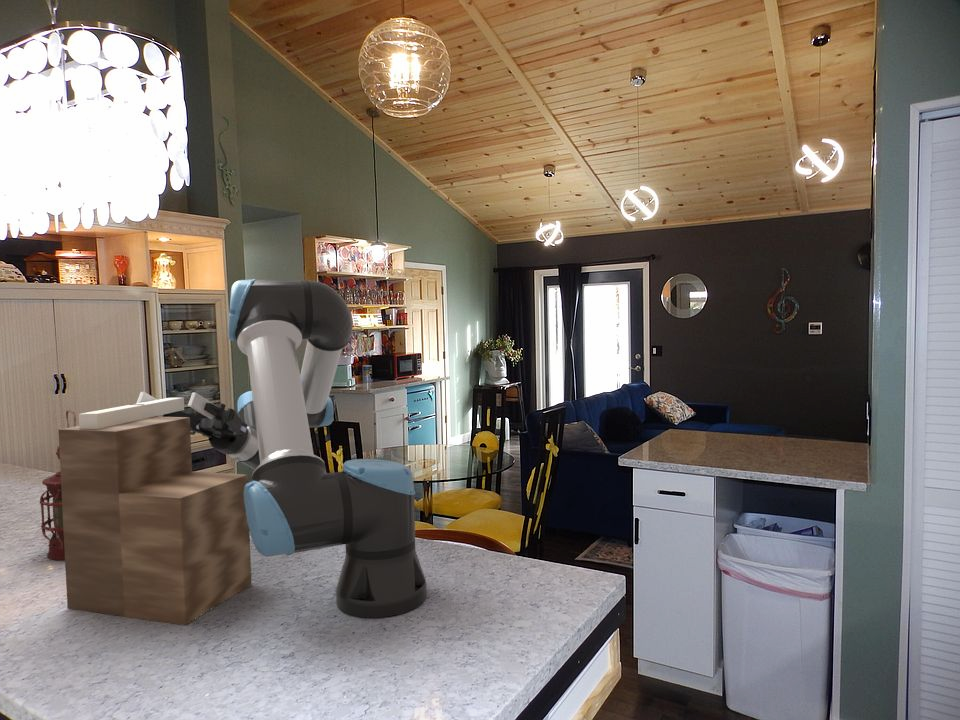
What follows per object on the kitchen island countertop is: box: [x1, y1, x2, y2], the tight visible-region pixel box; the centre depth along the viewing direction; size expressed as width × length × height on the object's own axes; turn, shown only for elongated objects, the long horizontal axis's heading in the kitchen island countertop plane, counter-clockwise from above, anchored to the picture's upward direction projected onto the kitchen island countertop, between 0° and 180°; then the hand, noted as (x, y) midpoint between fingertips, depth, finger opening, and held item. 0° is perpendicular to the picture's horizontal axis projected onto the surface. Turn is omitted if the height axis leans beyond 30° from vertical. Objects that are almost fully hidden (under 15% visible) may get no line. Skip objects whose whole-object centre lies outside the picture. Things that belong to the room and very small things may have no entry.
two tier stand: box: [57, 417, 252, 626], centre depth 107 cm, size 16×24×30 cm, turn 73°
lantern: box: [39, 409, 77, 561], centre depth 130 cm, size 12×12×30 cm
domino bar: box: [78, 397, 185, 429], centre depth 114 cm, size 24×3×3 cm, turn 173°
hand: (165, 398), depth 118 cm, fingers open, 11 cm apart
